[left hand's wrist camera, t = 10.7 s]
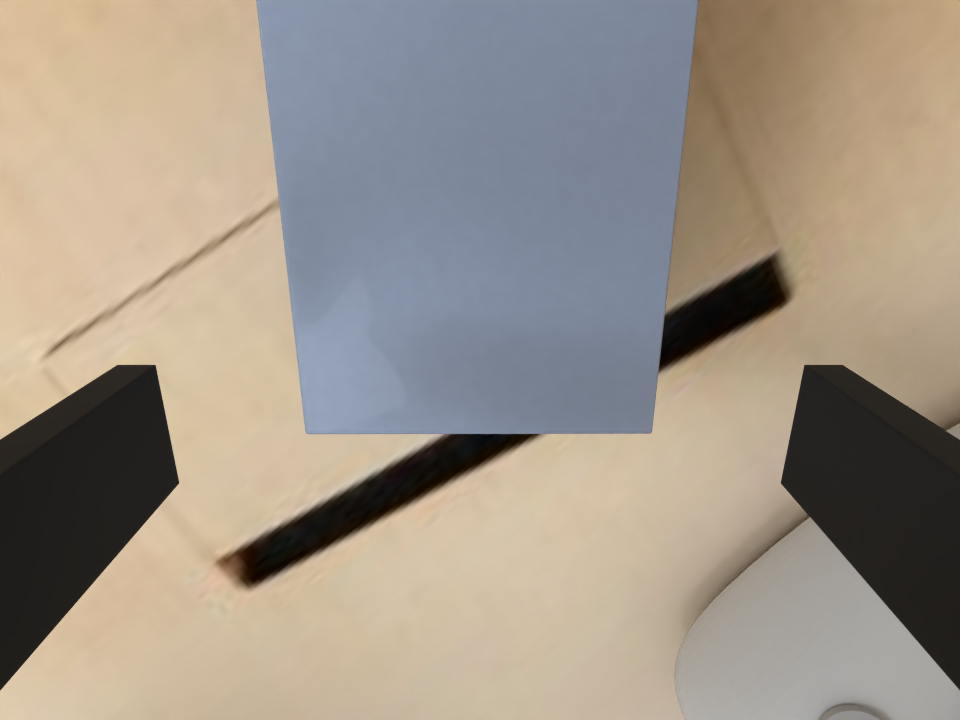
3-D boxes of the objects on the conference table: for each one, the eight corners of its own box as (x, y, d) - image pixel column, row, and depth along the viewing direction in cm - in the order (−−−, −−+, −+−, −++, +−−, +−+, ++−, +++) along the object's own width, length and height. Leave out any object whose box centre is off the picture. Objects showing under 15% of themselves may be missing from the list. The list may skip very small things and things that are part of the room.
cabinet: (323, -194, 21) (204, -443, 12) (632, -194, 21) (748, -445, 12) (362, 337, 28) (305, 435, 19) (596, 337, 28) (652, 434, 19)
